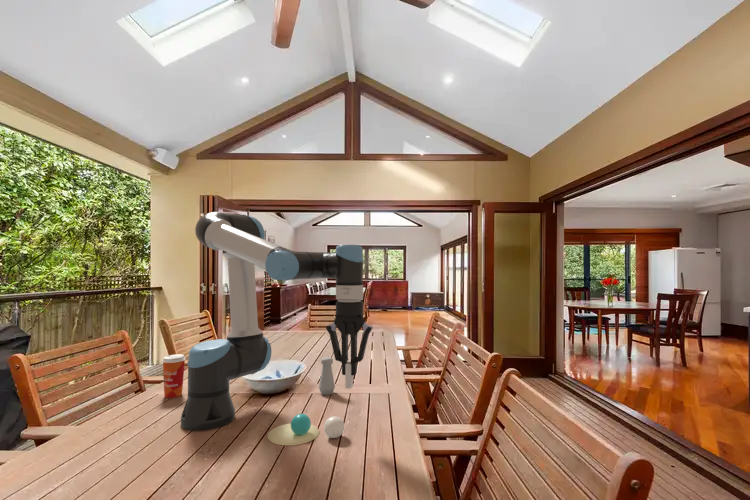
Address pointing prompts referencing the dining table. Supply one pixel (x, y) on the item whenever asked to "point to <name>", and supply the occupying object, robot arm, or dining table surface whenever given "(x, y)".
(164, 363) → the paper cup
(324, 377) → the salt shaker
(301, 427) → the teal ball
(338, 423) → the cue ball
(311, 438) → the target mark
